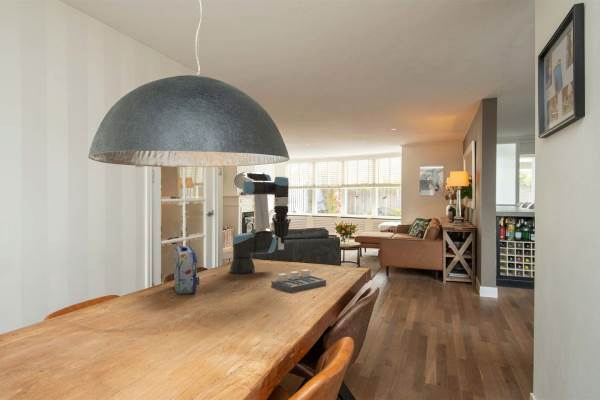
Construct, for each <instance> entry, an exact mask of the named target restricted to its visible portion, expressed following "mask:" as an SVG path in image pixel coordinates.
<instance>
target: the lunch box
mask: <svg viewBox="0 0 600 400" xmlns="http://www.w3.org/2000/svg"><path fill="white" fill-rule="evenodd" d="M173 253H174V254H173V276H174V279H173V280H174V281H173V287H174V290H175V292H176V293H177V294H178V295H181V294H194V293H196V292H197V287H198V286H200V282H201V281H200V276H198V274H197V273H198V270H197V263H198V257H197V254H196V252H195V250H194V249H193V248H192V246H191V245H188V246H185V245H182V246H177V247H175V249H174V252H173Z"/></svg>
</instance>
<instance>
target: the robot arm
mask: <svg viewBox="0 0 600 400" xmlns="http://www.w3.org/2000/svg"><path fill="white" fill-rule="evenodd" d="M233 183H234V185H235V187H236V188H238V189H239V190H242V192H243V194H244V195H253V197H254V198H253V199H254V215H255V225H256V226H255V229H256V230H255V231H254V232H245V233H239V234H236V235H234V236H233V239H232V260H231V261H232V262H231V264H230V268H229V272H230V273H231V274H237V275H240V274H252V273H254V272H255V271H256V270H255V269H256V268H255V267H256V266H255V264H254V261H253V255H260V254H265V255H267V254H272V253H273V252H274V251H275V249H276V246H277V243H278V246H277V248H278V249H277V250H278V251H279V250H280V251H281V250H283V251H284V250H285V238H286V237H288V233H289V229H290V224H291V219H292V218H289V217H288V214H289V206H288V205H289V187H290V185H289V184H290V183H289V177H287V176H275V178H274V180H273V181H272V177H271V175H270V174H269V173H268V172H262V171H260V172H258V171H252V172H251V171H243V172H240V173H238V174H237V175H236V176H235V177H234V181H233ZM268 195H269V196H270V195H271V196H274V205H275V206H274V209H273V210H274V213H275V216H274V217H272V223H273V228H274V233H273V231H272V230H271V228H270V227H271V226H270V213H269V201H268Z"/></svg>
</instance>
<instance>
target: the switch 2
mask: <svg viewBox="0 0 600 400" xmlns="http://www.w3.org/2000/svg"><path fill="white" fill-rule="evenodd" d="M300 276H301V277H310V276H311V270H310V269H306V268H305V269H301V270H300Z"/></svg>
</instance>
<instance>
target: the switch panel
mask: <svg viewBox="0 0 600 400" xmlns="http://www.w3.org/2000/svg"><path fill="white" fill-rule="evenodd" d="M322 286H327V279H324V278H322V277H317V276H313V275H310V277H301V275H299V279H295V280H293V279H290V278H289V277H287V281H284V282H280V281H277V279H276V280H272V281H271V287H272V288H273V287H274V288H276V289H279V290H282V291H284V292H285V291H286V292H289V293H295V292H299V291H304V290H308V289H309V290H310V289H314V288H318V287H322Z"/></svg>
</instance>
